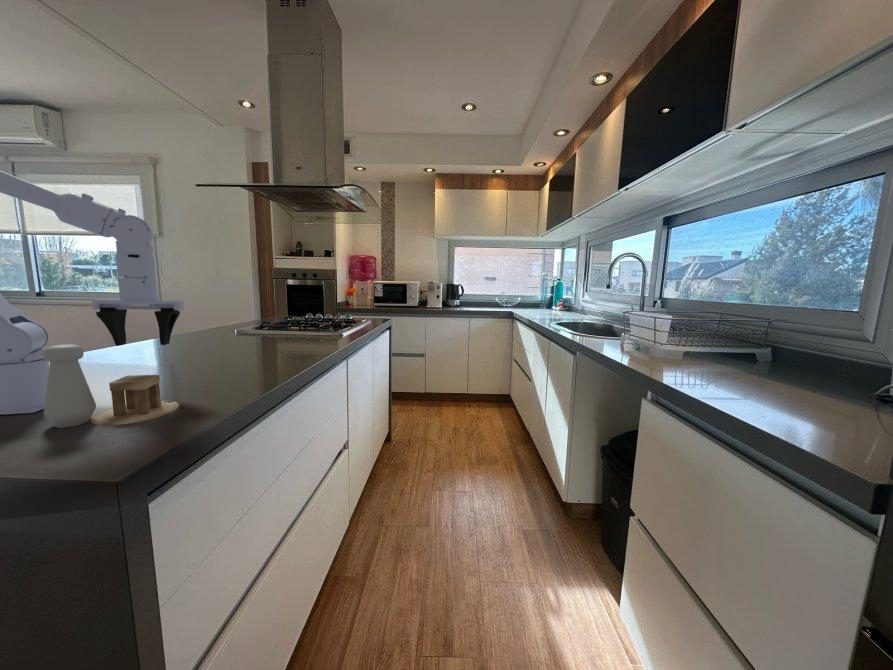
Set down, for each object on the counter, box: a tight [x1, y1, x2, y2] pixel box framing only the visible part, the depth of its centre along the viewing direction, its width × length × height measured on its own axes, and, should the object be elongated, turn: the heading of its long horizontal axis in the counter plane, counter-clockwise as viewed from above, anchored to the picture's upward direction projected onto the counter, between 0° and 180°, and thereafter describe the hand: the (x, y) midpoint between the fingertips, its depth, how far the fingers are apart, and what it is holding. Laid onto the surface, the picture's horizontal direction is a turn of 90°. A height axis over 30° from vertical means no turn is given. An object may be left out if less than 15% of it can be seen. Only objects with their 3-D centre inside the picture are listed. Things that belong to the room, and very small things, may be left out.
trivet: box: [89, 400, 180, 426], centre depth 62 cm, size 12×12×1 cm
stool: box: [108, 374, 161, 416], centre depth 62 cm, size 5×5×6 cm
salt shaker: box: [43, 343, 97, 429], centre depth 56 cm, size 6×6×13 cm
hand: (143, 344), depth 71 cm, fingers open, 7 cm apart
